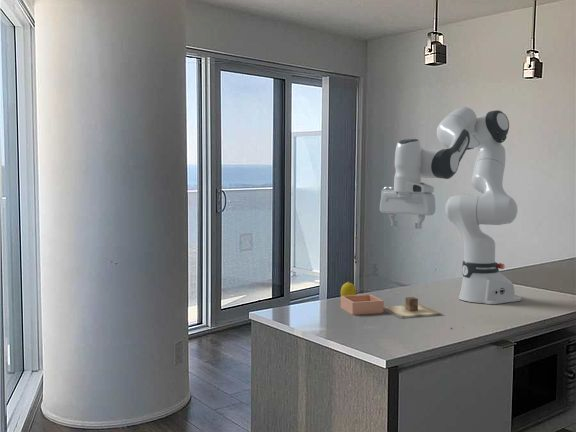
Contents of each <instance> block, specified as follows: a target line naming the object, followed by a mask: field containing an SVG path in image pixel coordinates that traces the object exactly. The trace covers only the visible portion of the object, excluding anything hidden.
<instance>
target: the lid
mask: <svg viewBox="0 0 576 432" xmlns="http://www.w3.org/2000/svg"><path fill="white" fill-rule="evenodd" d="M384 309H385V310H387V311H389V312H391V313H393V314H395V315H397V316H399V317H401V318H408V317H421V318H423V317H422V316H435V315H441V314H442V313H441V312H439V311H436V310H434V309H432V308H430V307H428V306H426V305H423V304H419V298H418V297H415V296H410V297H409V296H408V297H405V305H404V304H403V305H393V306H391V305H390V306H384ZM435 317H436V316H435ZM408 319H409V318H408Z"/></svg>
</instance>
